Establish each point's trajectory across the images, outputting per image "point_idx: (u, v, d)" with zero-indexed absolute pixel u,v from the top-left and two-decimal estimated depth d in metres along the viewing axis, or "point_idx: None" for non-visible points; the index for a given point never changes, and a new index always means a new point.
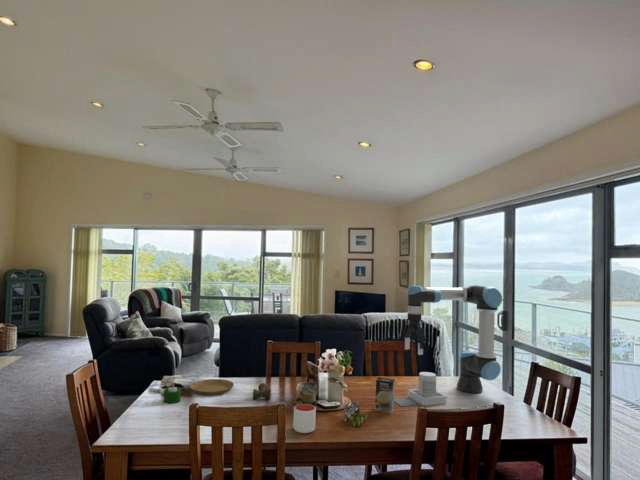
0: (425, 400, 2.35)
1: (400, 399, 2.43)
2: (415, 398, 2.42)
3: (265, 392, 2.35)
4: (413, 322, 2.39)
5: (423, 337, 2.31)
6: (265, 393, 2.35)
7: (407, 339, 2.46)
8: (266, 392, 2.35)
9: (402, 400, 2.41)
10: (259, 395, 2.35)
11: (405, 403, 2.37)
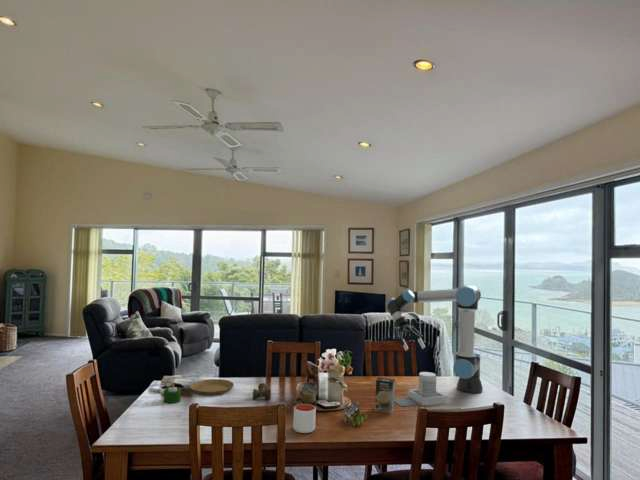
0: (425, 400, 2.35)
1: (400, 399, 2.43)
2: (415, 398, 2.42)
3: (265, 392, 2.35)
4: None
5: (396, 336, 2.63)
6: (265, 393, 2.35)
7: (419, 340, 2.68)
8: (266, 392, 2.35)
9: (402, 400, 2.41)
10: (259, 395, 2.35)
11: (405, 403, 2.37)
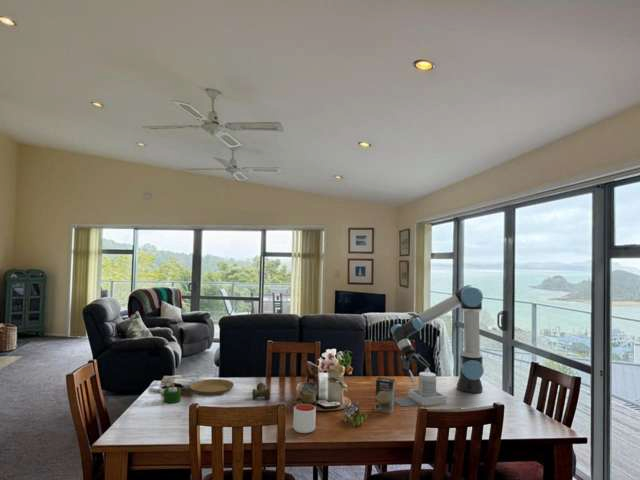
0: (425, 400, 2.35)
1: (400, 399, 2.43)
2: (415, 398, 2.42)
3: (264, 392, 2.36)
4: None
5: (402, 366, 2.48)
6: (265, 393, 2.35)
7: (426, 370, 2.54)
8: (266, 392, 2.35)
9: (402, 400, 2.41)
10: (258, 395, 2.35)
11: (405, 403, 2.37)
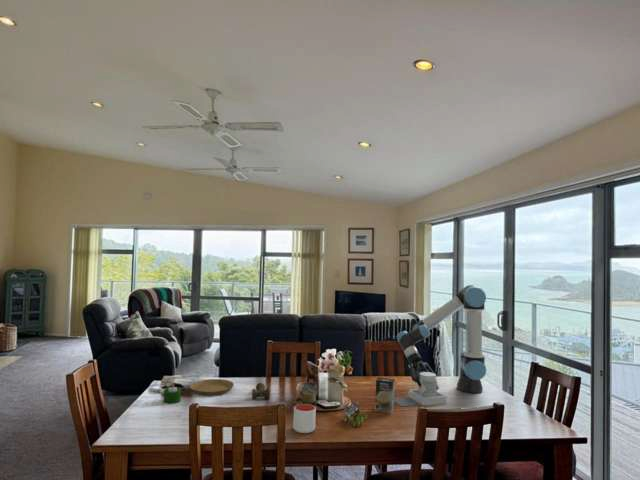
0: (425, 400, 2.35)
1: (400, 399, 2.43)
2: (415, 398, 2.42)
3: (264, 392, 2.36)
4: None
5: (412, 376, 2.44)
6: (264, 393, 2.35)
7: None
8: (265, 392, 2.36)
9: (402, 400, 2.41)
10: (258, 395, 2.35)
11: (405, 403, 2.37)
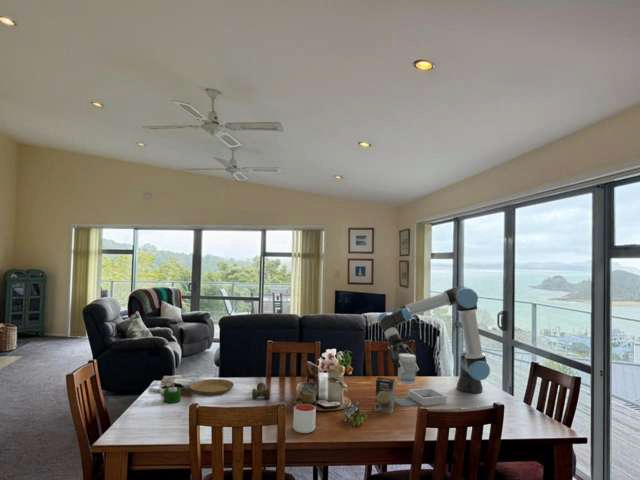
0: (425, 400, 2.35)
1: (400, 399, 2.43)
2: (415, 398, 2.42)
3: (264, 391, 2.36)
4: None
5: (391, 357, 2.40)
6: (264, 392, 2.36)
7: None
8: (265, 391, 2.36)
9: (402, 400, 2.41)
10: (258, 395, 2.35)
11: (405, 403, 2.37)
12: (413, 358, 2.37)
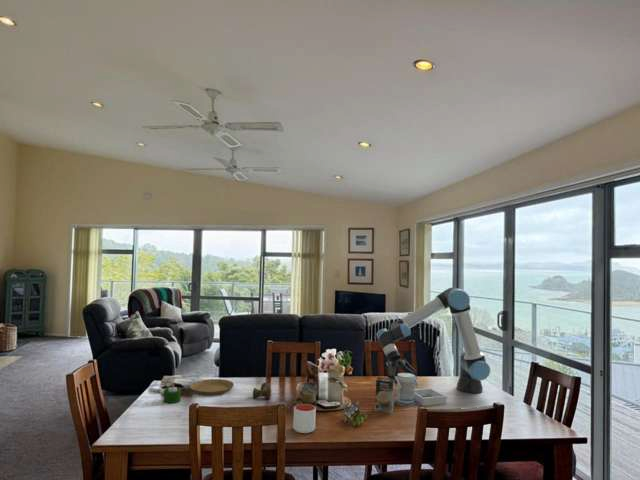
0: (425, 400, 2.35)
1: None
2: (415, 398, 2.42)
3: (265, 391, 2.36)
4: None
5: (388, 373, 2.39)
6: (265, 392, 2.36)
7: None
8: (266, 392, 2.36)
9: None
10: (259, 394, 2.36)
11: None
12: (412, 378, 2.37)
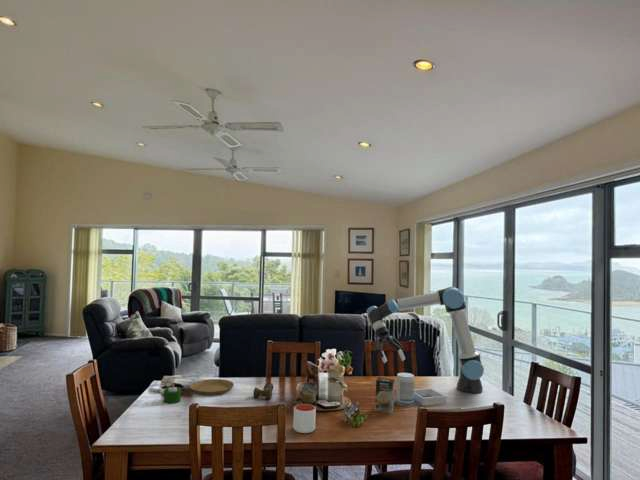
0: (425, 400, 2.35)
1: None
2: (415, 398, 2.42)
3: (265, 391, 2.36)
4: None
5: (375, 347, 2.53)
6: (265, 392, 2.36)
7: (399, 351, 2.58)
8: (266, 392, 2.36)
9: None
10: (259, 394, 2.36)
11: None
12: (412, 378, 2.37)
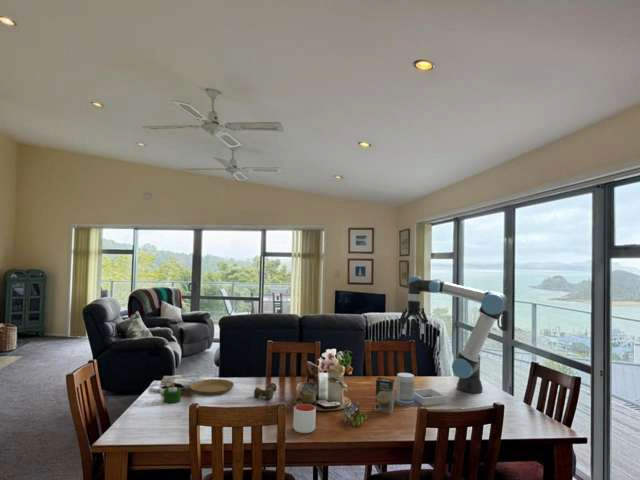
0: (425, 400, 2.35)
1: None
2: (415, 398, 2.42)
3: (266, 391, 2.36)
4: None
5: (400, 318, 2.73)
6: (265, 392, 2.36)
7: (421, 324, 2.78)
8: (266, 392, 2.36)
9: None
10: (260, 394, 2.37)
11: None
12: (412, 378, 2.37)
